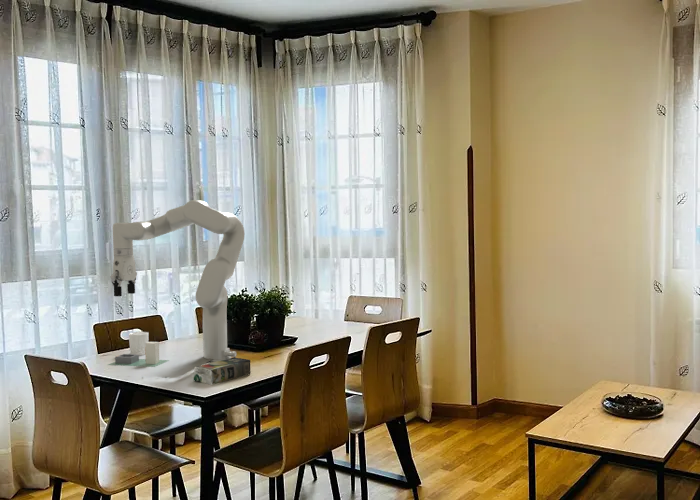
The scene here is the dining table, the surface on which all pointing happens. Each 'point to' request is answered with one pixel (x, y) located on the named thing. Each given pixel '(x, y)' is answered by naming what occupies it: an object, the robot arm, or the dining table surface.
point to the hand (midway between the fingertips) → (124, 294)
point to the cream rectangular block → (152, 352)
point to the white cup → (138, 342)
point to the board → (133, 361)
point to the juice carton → (222, 370)
